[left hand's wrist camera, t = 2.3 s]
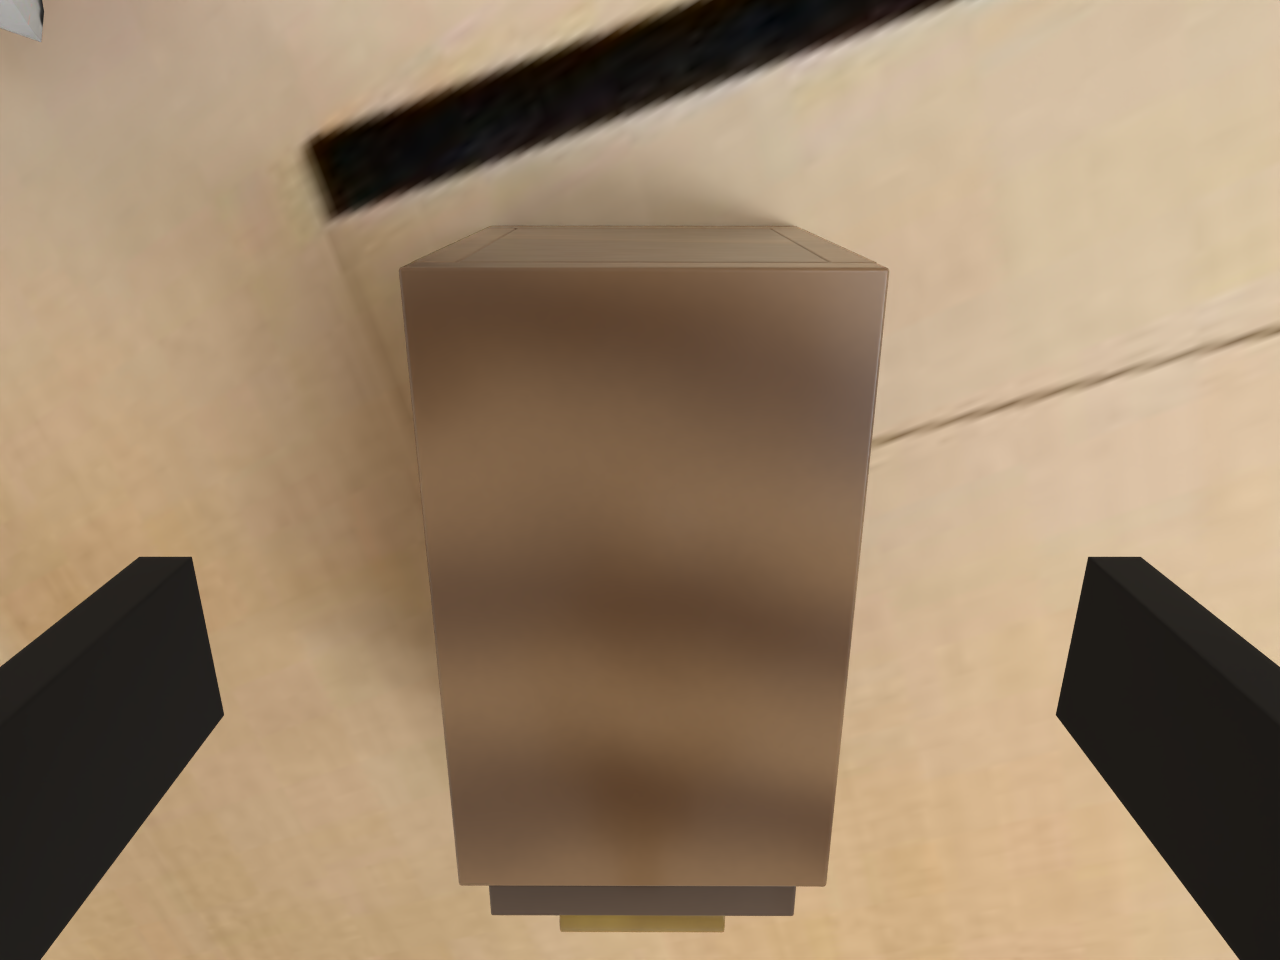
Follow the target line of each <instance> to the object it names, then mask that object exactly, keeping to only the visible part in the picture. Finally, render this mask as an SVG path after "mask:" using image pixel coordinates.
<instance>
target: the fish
mask: <svg viewBox="0 0 1280 960" xmlns="http://www.w3.org/2000/svg"><path fill="white" fill-rule="evenodd" d="M43 17H44V9H43V3H42V0H0V28H2V29H5V30H7V31H10V32H13V33H16V34H19V35H22V36H25V37H28V38H31V39H33V40H36V41H39V42H41V40H42V28H43Z"/></svg>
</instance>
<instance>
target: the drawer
mask: <svg viewBox="0 0 1280 960" xmlns="http://www.w3.org/2000/svg"><path fill="white" fill-rule="evenodd" d="M489 892H490V904H491V914H492V915H560V930H561V932H724V926H725V916H793V914H794V904H795V892H796V886H503V885H489Z"/></svg>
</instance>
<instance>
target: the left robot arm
mask: <svg viewBox="0 0 1280 960" xmlns="http://www.w3.org/2000/svg"><path fill="white" fill-rule="evenodd" d="M223 716H224V712H223V707H222V702H221V697H220V692H219V688H218V683H217V678H216V673H215V668H214V663H213V658H212V654H211V649H210V644H209V639H208V634H207V629H206V624H205V619H204V615H203V610H202V605H201V600H200V595H199V590H198V585H197V580H196V576H195V571H194V566H193V561H192V557H139V558H137V559H136V560H135V561H134V562H132V563H131V564H130V565H129V566H127V567H126V568H125V569H123V570H122V571H121V572H120V573H118V574H117V575H116V576H115V577H113V578H112V579H111V580H110V581H108V582H107V583H106V584H105V585H103V586H102V587H101V588H99V589H98V590H97V591H96V592H94V593H93V594H92V595H91V596H89V597H88V598H87V599H86V600H84V601H83V602H82V603H81V604H79V605H78V606H77V607H75V608H74V609H73V610H72V611H70V612H69V613H68V614H67V615H65V616H64V617H63V618H62V619H60V620H59V621H58V622H57V623H55V624H54V625H53V626H51V627H50V628H49V629H48V630H46V631H45V632H44V633H43V634H41V635H40V636H39V637H38V638H36V639H35V640H34V641H33V642H31V643H30V644H29V645H28V646H26V647H25V648H24V649H22V650H21V651H20V652H19V653H17V654H16V655H15V656H14V657H12V658H11V659H10V660H9V661H7V662H6V663H5V664H4V665H2V666H1V667H0V960H41V958H42V957H43V956H44V954H45V953H46V952H47V950H48V949H49V948H50V946H51V945H52V944H53V942H54V941H55V940H56V938H57V937H58V936H59V934H60V933H61V932H62V930H63V929H64V928H65V926H66V925H67V924H68V922H69V921H70V920H71V918H72V917H73V916H74V914H75V913H76V912H77V910H78V909H79V908H80V906H81V905H82V904H83V902H84V901H85V900H86V898H87V897H88V896H89V894H90V893H91V892H92V890H93V889H94V888H95V886H96V885H97V884H98V882H99V881H100V880H101V878H102V877H103V876H104V874H105V873H106V872H107V870H108V869H109V868H110V866H111V865H112V864H113V862H114V861H115V860H116V858H117V857H118V856H119V854H120V853H121V852H122V850H123V849H124V848H125V846H126V845H127V844H128V842H129V841H130V840H131V838H132V837H133V836H134V834H135V833H136V832H137V830H138V829H139V828H140V826H141V825H142V824H143V822H144V821H145V820H146V818H147V817H148V816H149V814H150V813H151V812H152V810H153V809H154V808H155V806H156V805H157V804H158V802H159V801H160V800H161V798H162V797H163V796H164V794H165V793H166V792H167V790H168V789H169V788H170V786H171V785H172V784H173V782H174V781H175V780H176V778H177V777H178V776H179V774H180V773H181V772H182V770H183V769H184V768H185V766H186V765H187V764H188V762H189V761H190V760H191V758H192V757H193V756H194V754H195V753H196V752H197V750H198V749H199V748H200V746H201V745H202V744H203V742H204V741H205V740H206V738H207V737H208V736H209V734H210V733H211V732H212V730H213V729H214V728H215V726H216V725H217V724H218V722H219V721H220V720H221V718H222V717H223ZM1056 716H1057V717H1058V718H1059V720H1060V721H1061V722H1062V724H1063V725H1064V726H1065V728H1066V729H1067V730H1068V732H1069V733H1070V734H1071V736H1072V737H1073V738H1074V740H1075V741H1076V742H1077V744H1078V745H1079V746H1080V748H1081V749H1082V750H1083V752H1084V753H1085V754H1086V756H1087V757H1088V758H1089V760H1090V761H1091V762H1092V764H1093V765H1094V766H1095V768H1096V769H1097V770H1098V772H1099V773H1100V774H1101V776H1102V777H1103V778H1104V780H1105V781H1106V782H1107V784H1108V785H1109V786H1110V788H1111V789H1112V790H1113V792H1114V793H1115V794H1116V796H1117V797H1118V798H1119V800H1120V801H1121V802H1122V804H1123V805H1124V806H1125V808H1126V809H1127V810H1128V812H1129V813H1130V814H1131V816H1132V817H1133V818H1134V820H1135V821H1136V822H1137V824H1138V825H1139V826H1140V828H1141V829H1142V830H1143V832H1144V833H1145V834H1146V836H1147V837H1148V838H1149V840H1150V841H1151V842H1152V844H1153V845H1154V846H1155V848H1156V849H1157V850H1158V852H1159V853H1160V854H1161V856H1162V857H1163V858H1164V860H1165V861H1166V862H1167V864H1168V865H1169V866H1170V868H1171V869H1172V870H1173V872H1174V873H1175V874H1176V876H1177V877H1178V878H1179V880H1180V881H1181V882H1182V884H1183V885H1184V886H1185V888H1186V889H1187V890H1188V892H1189V893H1190V894H1191V896H1192V897H1193V898H1194V900H1195V901H1196V902H1197V904H1198V905H1199V906H1200V908H1201V909H1202V910H1203V912H1204V913H1205V914H1206V916H1207V917H1208V918H1209V920H1210V921H1211V922H1212V924H1213V925H1214V926H1215V928H1216V929H1217V930H1218V932H1219V933H1220V934H1221V936H1222V937H1223V938H1224V940H1225V941H1226V942H1227V944H1228V945H1229V946H1230V948H1231V949H1232V950H1233V952H1234V953H1235V954H1236V956H1237V957H1238V958H1239V960H1280V667H1279V666H1278V665H1276V664H1275V663H1274V662H1273V661H1271V660H1270V659H1269V658H1268V657H1266V656H1265V655H1264V654H1263V653H1261V652H1260V651H1259V650H1258V649H1256V648H1255V647H1254V646H1252V645H1251V644H1250V643H1249V642H1247V641H1246V640H1245V639H1244V638H1242V637H1241V636H1240V635H1239V634H1237V633H1236V632H1235V631H1234V630H1232V629H1231V628H1230V627H1229V626H1227V625H1226V624H1225V623H1223V622H1222V621H1221V620H1220V619H1218V618H1217V617H1216V616H1215V615H1213V614H1212V613H1211V612H1210V611H1208V610H1207V609H1206V608H1205V607H1203V606H1202V605H1201V604H1199V603H1198V602H1197V601H1196V600H1194V599H1193V598H1192V597H1191V596H1189V595H1188V594H1187V593H1186V592H1184V591H1183V590H1182V589H1181V588H1179V587H1178V586H1177V585H1175V584H1174V583H1173V582H1172V581H1170V580H1169V579H1168V578H1167V577H1165V576H1164V575H1163V574H1162V573H1160V572H1159V571H1158V570H1157V569H1155V568H1154V567H1153V566H1151V565H1150V564H1149V563H1148V562H1146V561H1145V560H1144V559H1143V558H1141V557H1088V561H1087V566H1086V571H1085V576H1084V580H1083V585H1082V590H1081V595H1080V600H1079V605H1078V610H1077V615H1076V619H1075V624H1074V629H1073V634H1072V639H1071V644H1070V649H1069V653H1068V658H1067V663H1066V668H1065V673H1064V678H1063V683H1062V688H1061V692H1060V697H1059V702H1058V707H1057V712H1056Z"/></svg>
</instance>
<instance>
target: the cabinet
mask: <svg viewBox="0 0 1280 960" xmlns="http://www.w3.org/2000/svg"><path fill="white" fill-rule="evenodd" d="M399 276H400V286H401V297H402V307H403V317H404V327H405V337H406V347H407V358H408V368H409V378H410V388H411V398H412V409H413V419H414V429H415V439H416V449H417V460H418V470H419V480H420V490H421V500H422V511H423V521H424V531H425V541H426V551H427V562H428V572H429V582H430V592H431V602H432V613H433V623H434V633H435V643H436V653H437V664H438V674H439V684H440V694H441V704H442V715H443V725H444V735H445V745H446V755H447V766H448V776H449V786H450V796H451V806H452V817H453V827H454V837H455V847H456V857H457V868H458V878H459V884H460V885H503V886H825V885H826V881H827V871H828V861H829V852H830V842H831V832H832V822H833V813H834V803H835V793H836V784H837V774H838V764H839V754H840V745H841V735H842V725H843V715H844V706H845V696H846V686H847V676H848V667H849V657H850V647H851V638H852V628H853V618H854V608H855V599H856V589H857V579H858V569H859V560H860V550H861V540H862V530H863V521H864V511H865V501H866V492H867V482H868V472H869V462H870V453H871V443H872V433H873V423H874V414H875V404H876V394H877V385H878V375H879V365H880V355H881V346H882V336H883V326H884V316H885V307H886V297H887V287H888V277H889V270H888V268H886V267H883V266H881V265H879V264H877V263H876V262H874V261H872V260H869V259H867V258H865V257H863V256H861V255H858V254H856V253H854V252H852V251H850V250H847V249H845V248H843V247H841V246H839V245H836V244H834V243H832V242H830V241H828V240H825V239H823V238H821V237H819V236H817V235H814V234H812V233H810V232H808V231H806V230H803V229H801V228H799V227H796V226H490V227H488V228H485V229H483V230H481V231H479V232H477V233H474V234H472V235H470V236H468V237H466V238H464V239H461V240H459V241H457V242H455V243H453V244H450V245H448V246H446V247H444V248H442V249H440V250H437V251H435V252H433V253H431V254H429V255H426V256H424V257H422V258H420V259H418V260H416V261H413V262H412V263H410V264H408V265H406V266H404V267H401V268H400V269H399Z"/></svg>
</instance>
